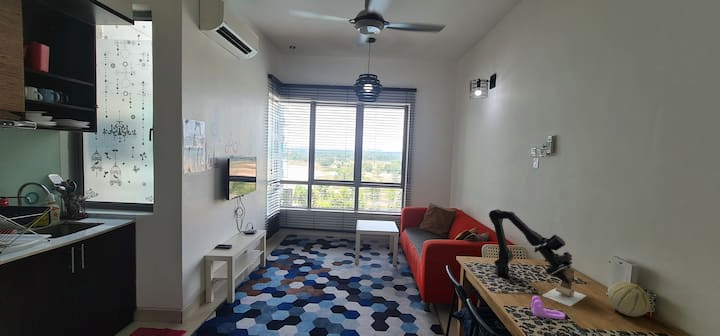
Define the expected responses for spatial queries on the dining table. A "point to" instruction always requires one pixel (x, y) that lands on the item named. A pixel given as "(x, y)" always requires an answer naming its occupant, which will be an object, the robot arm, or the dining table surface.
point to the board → (564, 297)
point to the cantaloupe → (629, 299)
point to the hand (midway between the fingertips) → (571, 282)
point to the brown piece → (564, 286)
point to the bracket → (539, 309)
